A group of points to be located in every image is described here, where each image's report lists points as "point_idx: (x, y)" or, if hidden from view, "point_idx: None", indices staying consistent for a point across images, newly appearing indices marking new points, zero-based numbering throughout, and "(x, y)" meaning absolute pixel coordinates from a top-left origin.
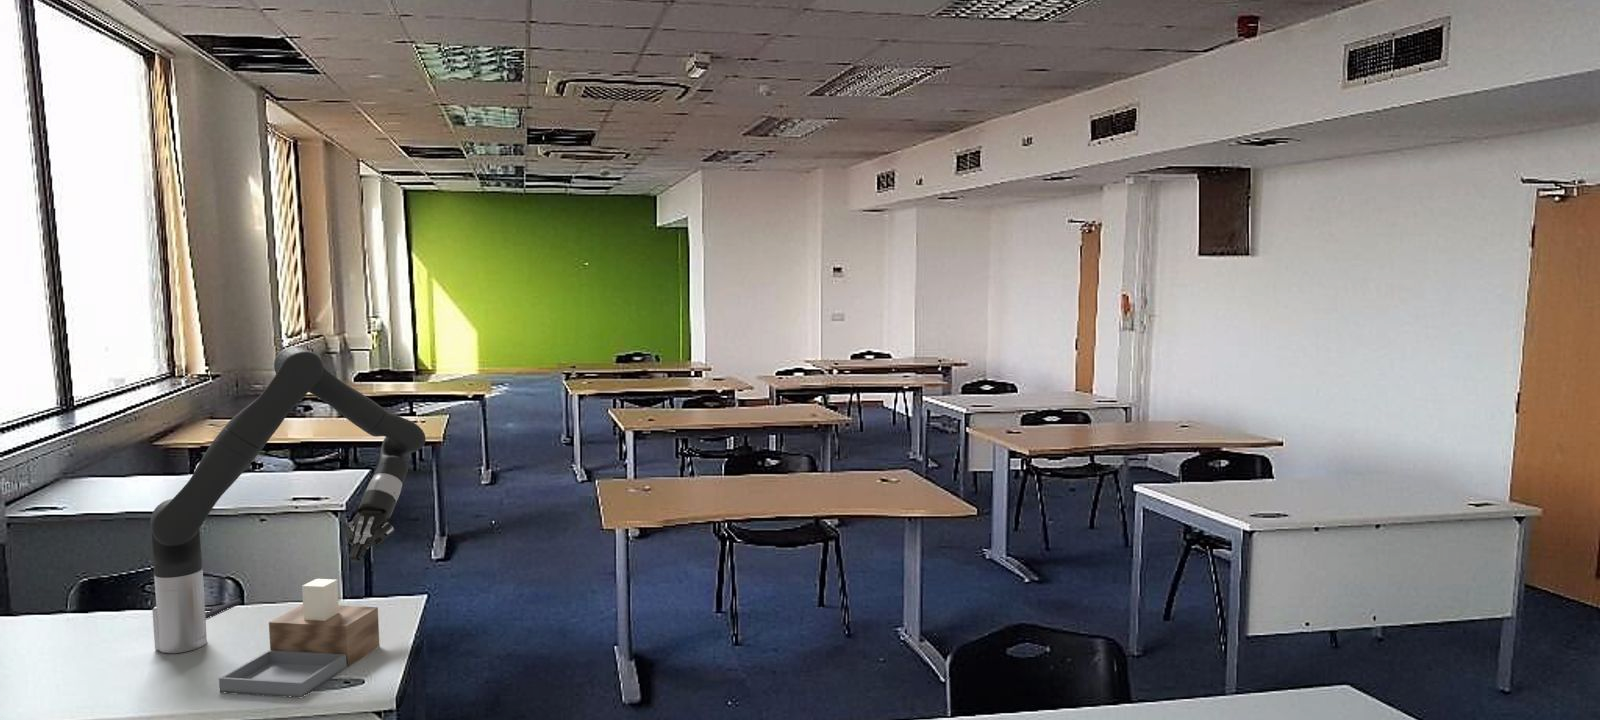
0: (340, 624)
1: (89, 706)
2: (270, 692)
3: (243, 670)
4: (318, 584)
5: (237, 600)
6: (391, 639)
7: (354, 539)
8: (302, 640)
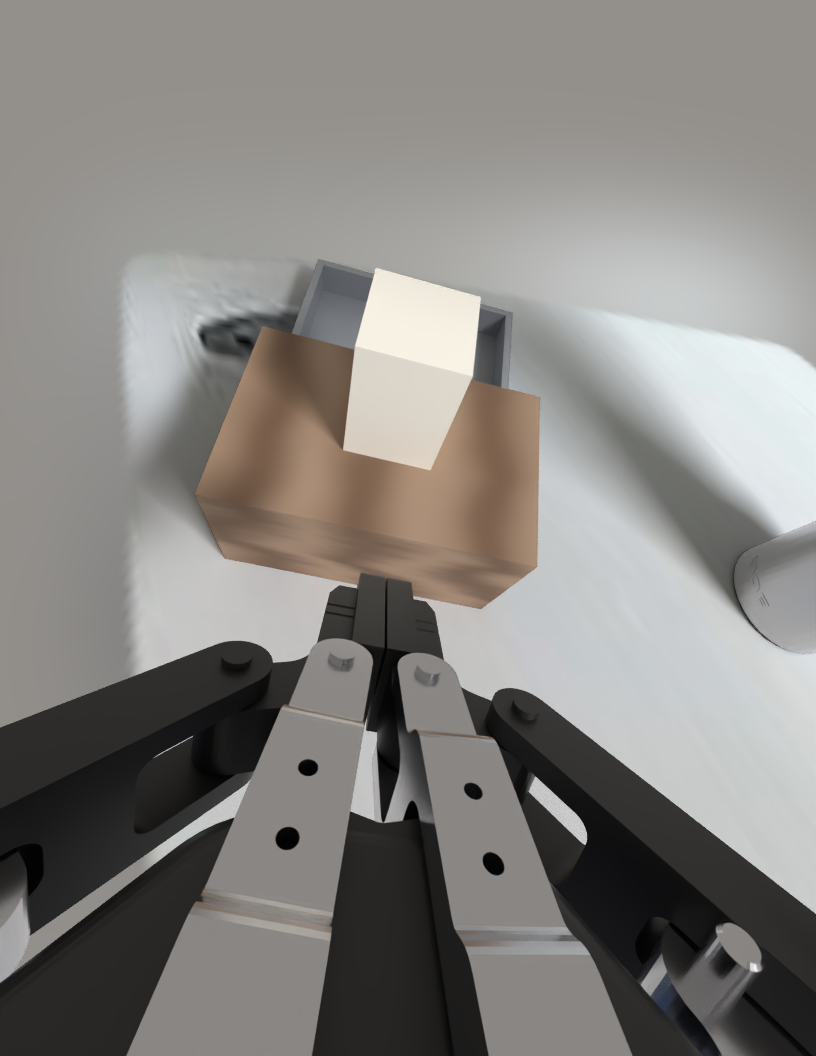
0: (288, 342)
1: (680, 329)
2: None
3: (499, 368)
4: (415, 299)
5: None
6: (197, 621)
7: (457, 696)
8: None
